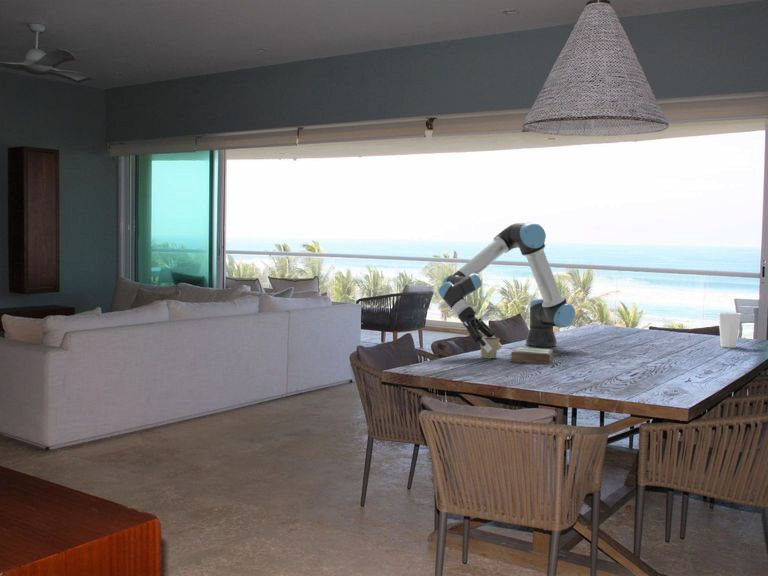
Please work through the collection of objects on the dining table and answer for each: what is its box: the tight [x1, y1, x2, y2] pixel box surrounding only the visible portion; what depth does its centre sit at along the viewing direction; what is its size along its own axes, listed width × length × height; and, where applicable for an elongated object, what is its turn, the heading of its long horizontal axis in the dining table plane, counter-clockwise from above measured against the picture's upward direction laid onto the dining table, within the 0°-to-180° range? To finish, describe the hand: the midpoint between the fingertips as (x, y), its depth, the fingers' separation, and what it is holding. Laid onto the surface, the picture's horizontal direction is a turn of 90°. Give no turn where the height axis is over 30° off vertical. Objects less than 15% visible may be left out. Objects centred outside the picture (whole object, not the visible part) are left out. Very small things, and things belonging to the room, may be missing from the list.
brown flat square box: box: [510, 347, 554, 365], centre depth 343 cm, size 16×16×4 cm
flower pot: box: [479, 336, 501, 360], centre depth 348 cm, size 9×9×9 cm
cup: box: [717, 311, 742, 349], centre depth 400 cm, size 11×10×17 cm
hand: (495, 349), depth 347 cm, fingers closed on flower pot, 9 cm apart
